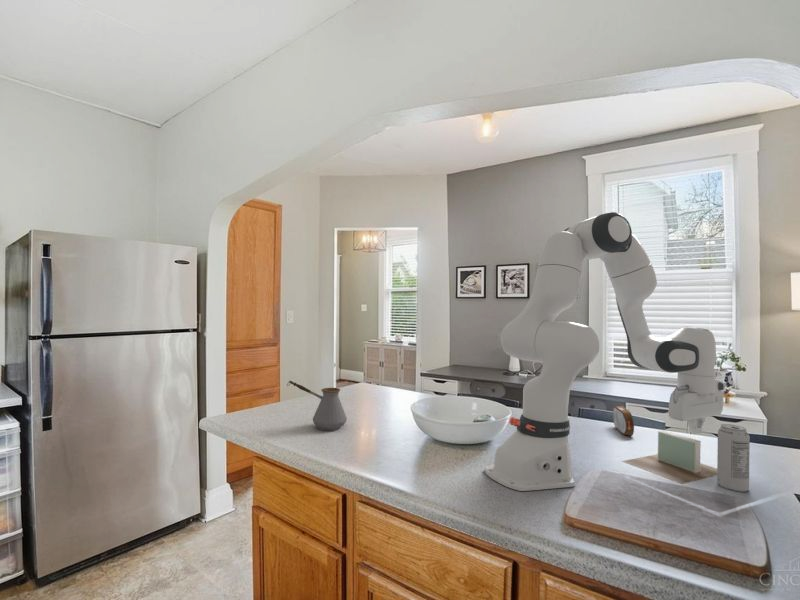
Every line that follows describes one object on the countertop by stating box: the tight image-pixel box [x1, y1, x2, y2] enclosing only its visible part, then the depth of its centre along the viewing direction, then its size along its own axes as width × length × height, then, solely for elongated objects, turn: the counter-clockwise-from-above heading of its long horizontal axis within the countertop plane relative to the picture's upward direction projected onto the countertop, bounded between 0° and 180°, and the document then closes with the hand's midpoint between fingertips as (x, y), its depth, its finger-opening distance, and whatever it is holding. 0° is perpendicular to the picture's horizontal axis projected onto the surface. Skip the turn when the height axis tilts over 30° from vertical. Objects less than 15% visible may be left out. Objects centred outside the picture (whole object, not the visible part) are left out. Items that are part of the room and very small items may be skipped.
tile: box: [657, 430, 702, 473], centre depth 114 cm, size 2×10×8 cm, turn 26°
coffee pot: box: [286, 380, 348, 432], centre depth 142 cm, size 21×12×15 cm, turn 81°
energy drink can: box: [716, 423, 751, 493], centre depth 100 cm, size 6×6×15 cm
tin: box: [612, 405, 635, 437], centre depth 147 cm, size 15×3×8 cm, turn 168°
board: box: [621, 453, 717, 485], centre depth 113 cm, size 20×16×1 cm
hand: (695, 433), depth 118 cm, fingers closed
